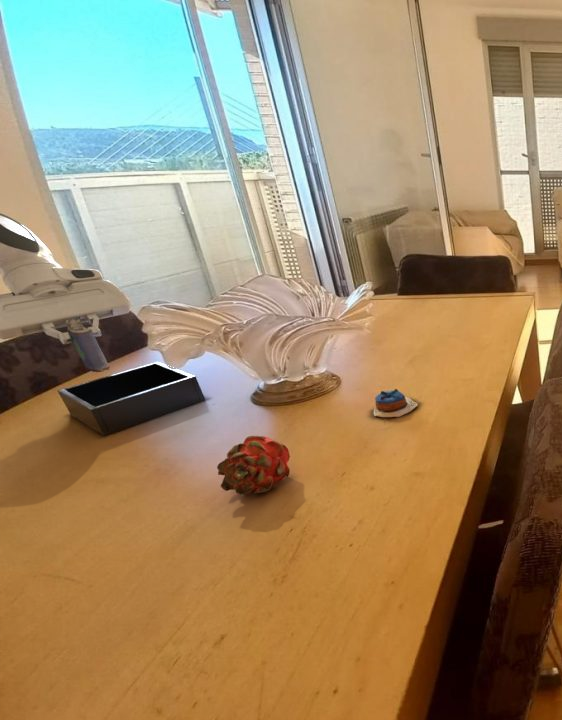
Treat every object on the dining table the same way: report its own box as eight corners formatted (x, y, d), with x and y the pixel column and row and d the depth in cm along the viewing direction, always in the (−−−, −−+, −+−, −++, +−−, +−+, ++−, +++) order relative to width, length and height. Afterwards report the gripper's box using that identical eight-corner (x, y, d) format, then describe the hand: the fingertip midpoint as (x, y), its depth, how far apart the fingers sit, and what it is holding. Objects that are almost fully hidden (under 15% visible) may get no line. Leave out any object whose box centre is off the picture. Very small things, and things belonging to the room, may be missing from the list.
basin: (104, 436, 86) (90, 409, 84) (70, 415, 94) (57, 390, 92) (205, 399, 99) (195, 376, 97) (168, 383, 107) (158, 361, 105)
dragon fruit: (263, 518, 67) (262, 487, 76) (308, 467, 70) (301, 444, 79) (200, 490, 62) (206, 461, 72) (251, 437, 65) (250, 416, 74)
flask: (112, 369, 100) (88, 321, 96) (93, 374, 98) (67, 325, 93) (100, 360, 105) (76, 314, 100) (81, 365, 102) (56, 318, 98)
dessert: (361, 413, 90) (370, 383, 91) (384, 417, 96) (393, 388, 97) (396, 421, 88) (405, 390, 89) (418, 424, 94) (426, 395, 95)
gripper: (-39, 290, 89) (4, 346, 88) (108, 268, 105) (145, 315, 105) (-31, 310, 93) (10, 364, 92) (109, 286, 109) (145, 331, 108)
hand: (83, 338), depth 98 cm, fingers closed on flask, 3 cm apart
